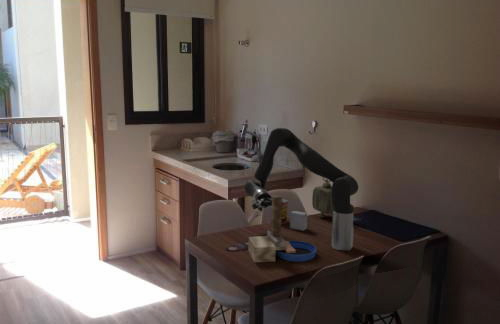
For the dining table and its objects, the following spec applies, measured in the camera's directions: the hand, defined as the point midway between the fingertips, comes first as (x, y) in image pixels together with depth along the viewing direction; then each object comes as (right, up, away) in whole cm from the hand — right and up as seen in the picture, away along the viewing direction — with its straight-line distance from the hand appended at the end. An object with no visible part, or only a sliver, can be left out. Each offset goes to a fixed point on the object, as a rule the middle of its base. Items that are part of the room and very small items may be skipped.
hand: (270, 208), depth 205 cm
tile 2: (+7, -17, -7) cm, 19 cm away
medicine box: (+16, -14, +31) cm, 37 cm away
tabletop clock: (+33, -11, +52) cm, 63 cm away
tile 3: (+6, -16, -3) cm, 17 cm away
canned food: (+7, -12, +42) cm, 44 cm away
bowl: (+11, -20, -6) cm, 24 cm away
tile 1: (+8, -17, -12) cm, 22 cm away
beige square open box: (-2, -20, -9) cm, 22 cm away
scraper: (+2, -13, -9) cm, 16 cm away
